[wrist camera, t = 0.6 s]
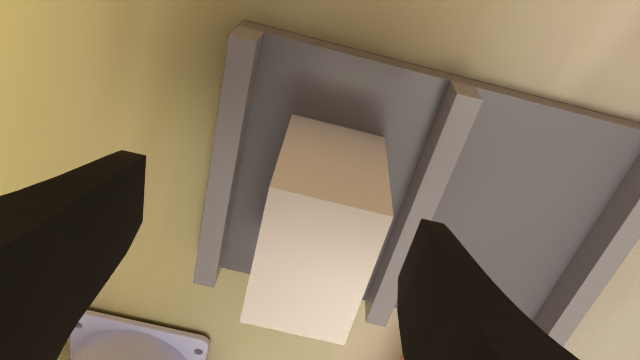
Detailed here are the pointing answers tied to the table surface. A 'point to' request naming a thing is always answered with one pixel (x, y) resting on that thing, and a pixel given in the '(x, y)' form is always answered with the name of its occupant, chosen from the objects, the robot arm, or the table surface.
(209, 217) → the slot rack
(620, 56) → the table surface
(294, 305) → the white plug
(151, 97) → the table surface
